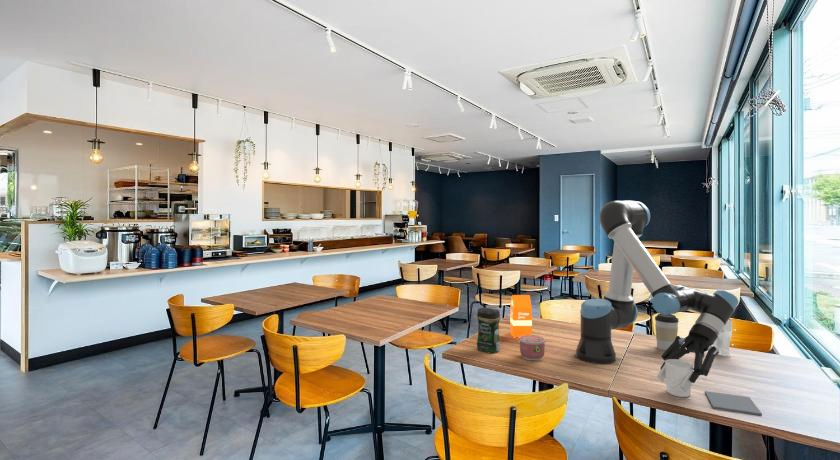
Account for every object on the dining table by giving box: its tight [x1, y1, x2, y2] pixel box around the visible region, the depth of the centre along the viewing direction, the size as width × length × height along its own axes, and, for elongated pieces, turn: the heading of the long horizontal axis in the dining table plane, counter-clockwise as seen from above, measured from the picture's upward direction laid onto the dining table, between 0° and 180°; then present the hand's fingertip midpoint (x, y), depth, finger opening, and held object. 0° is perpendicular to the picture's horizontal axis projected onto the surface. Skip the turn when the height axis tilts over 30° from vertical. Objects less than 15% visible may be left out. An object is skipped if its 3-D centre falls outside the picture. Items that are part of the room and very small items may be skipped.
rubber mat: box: [704, 390, 763, 416], centre depth 132 cm, size 12×12×1 cm
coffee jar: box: [476, 306, 501, 354], centre depth 184 cm, size 10×8×19 cm
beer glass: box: [713, 318, 733, 358], centre depth 176 cm, size 7×7×15 cm
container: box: [518, 334, 546, 361], centre depth 175 cm, size 10×10×8 cm
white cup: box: [665, 359, 694, 398], centre depth 140 cm, size 8×8×10 cm
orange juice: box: [509, 294, 533, 339], centre depth 205 cm, size 8×9×20 cm
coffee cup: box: [654, 313, 680, 352], centre depth 184 cm, size 9×9×15 cm
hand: (671, 383), depth 139 cm, fingers closed on white cup, 8 cm apart
